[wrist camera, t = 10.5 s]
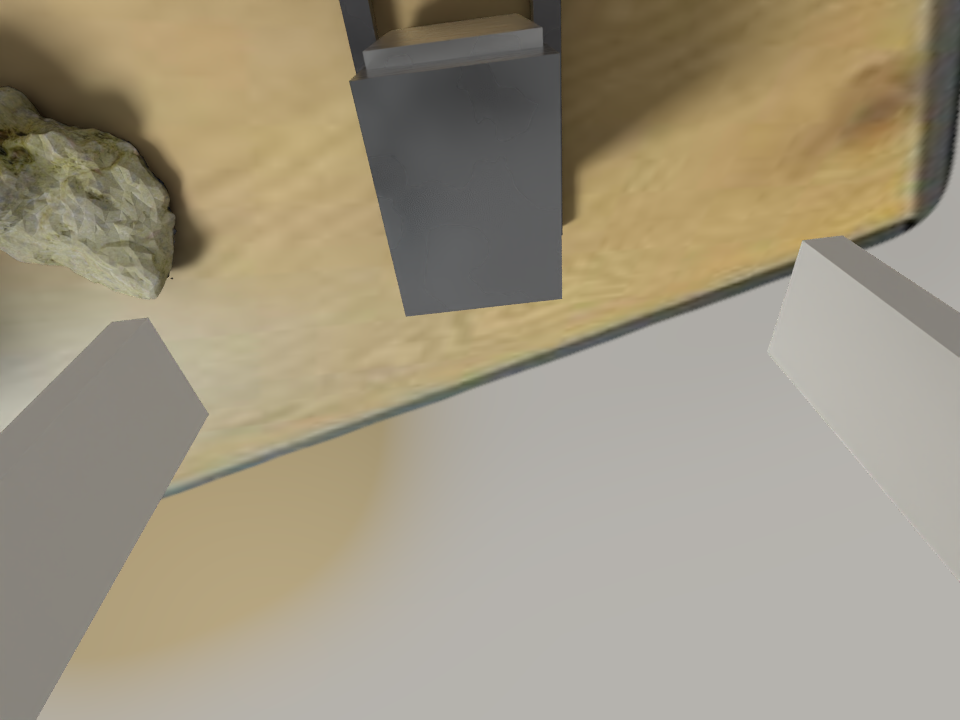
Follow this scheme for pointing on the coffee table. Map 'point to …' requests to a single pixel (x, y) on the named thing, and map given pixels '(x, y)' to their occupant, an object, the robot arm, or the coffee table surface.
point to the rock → (81, 202)
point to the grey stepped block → (466, 161)
